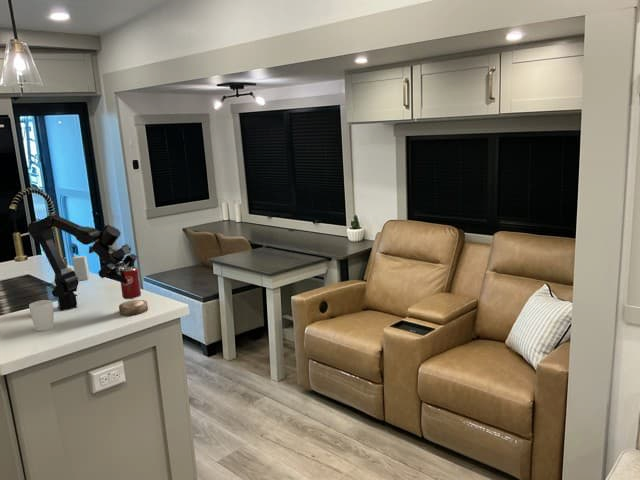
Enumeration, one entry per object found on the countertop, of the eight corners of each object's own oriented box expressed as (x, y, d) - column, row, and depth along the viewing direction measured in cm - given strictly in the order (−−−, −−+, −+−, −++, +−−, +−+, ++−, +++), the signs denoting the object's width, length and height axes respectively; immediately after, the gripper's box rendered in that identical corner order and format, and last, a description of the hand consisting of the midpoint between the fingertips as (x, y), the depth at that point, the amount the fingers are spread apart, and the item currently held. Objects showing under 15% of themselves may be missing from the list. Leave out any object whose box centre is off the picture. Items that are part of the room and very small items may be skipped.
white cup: (38, 325, 207) (34, 300, 205) (59, 323, 208) (55, 299, 206) (29, 332, 199) (25, 307, 197) (51, 330, 200) (46, 305, 198)
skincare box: (90, 277, 274) (86, 255, 272) (88, 280, 270) (84, 257, 267) (77, 278, 273) (74, 256, 271) (75, 281, 269) (71, 258, 266)
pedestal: (125, 317, 209) (124, 310, 209) (116, 311, 218) (115, 304, 217) (152, 310, 216) (151, 303, 215) (142, 304, 225) (141, 297, 224)
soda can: (131, 300, 211) (127, 271, 209) (118, 298, 215) (114, 270, 212) (145, 295, 217) (141, 267, 215) (132, 293, 221) (129, 265, 218)
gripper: (100, 244, 203) (129, 273, 203) (130, 234, 221) (156, 261, 220) (86, 264, 207) (114, 292, 206) (116, 252, 225) (142, 278, 224)
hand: (132, 280), depth 214 cm, fingers closed on soda can, 7 cm apart
